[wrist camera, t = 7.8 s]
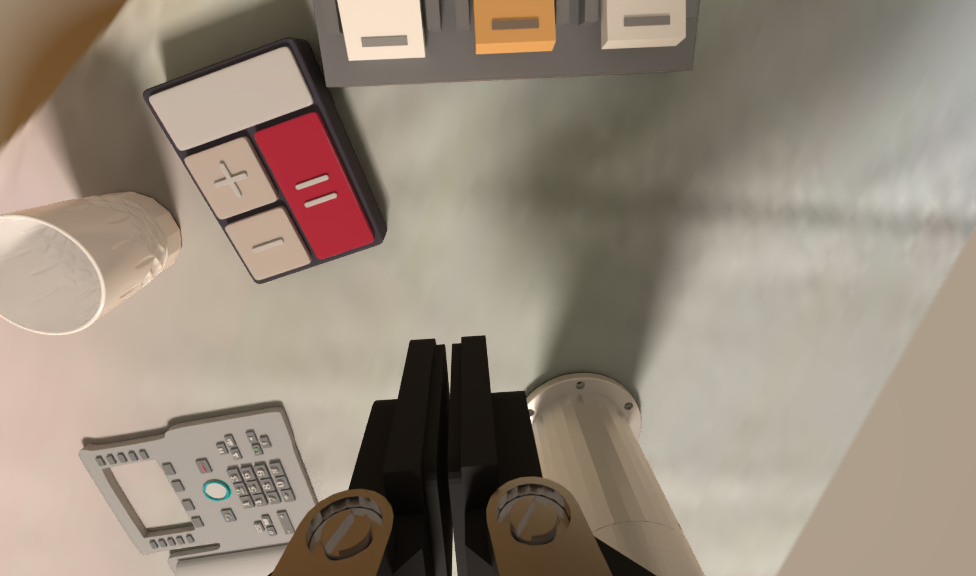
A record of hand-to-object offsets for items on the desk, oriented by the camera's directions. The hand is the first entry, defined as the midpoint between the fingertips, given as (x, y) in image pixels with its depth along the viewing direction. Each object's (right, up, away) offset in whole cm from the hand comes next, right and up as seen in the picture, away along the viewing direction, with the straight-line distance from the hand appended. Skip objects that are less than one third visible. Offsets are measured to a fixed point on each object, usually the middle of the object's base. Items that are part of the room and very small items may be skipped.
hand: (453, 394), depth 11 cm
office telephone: (-27, -21, +39) cm, 52 cm away
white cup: (-27, +7, +27) cm, 39 cm away
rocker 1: (-6, +20, +18) cm, 27 cm away
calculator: (-15, +12, +26) cm, 33 cm away
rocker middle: (+2, +20, +18) cm, 27 cm away
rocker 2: (+10, +21, +18) cm, 29 cm away
